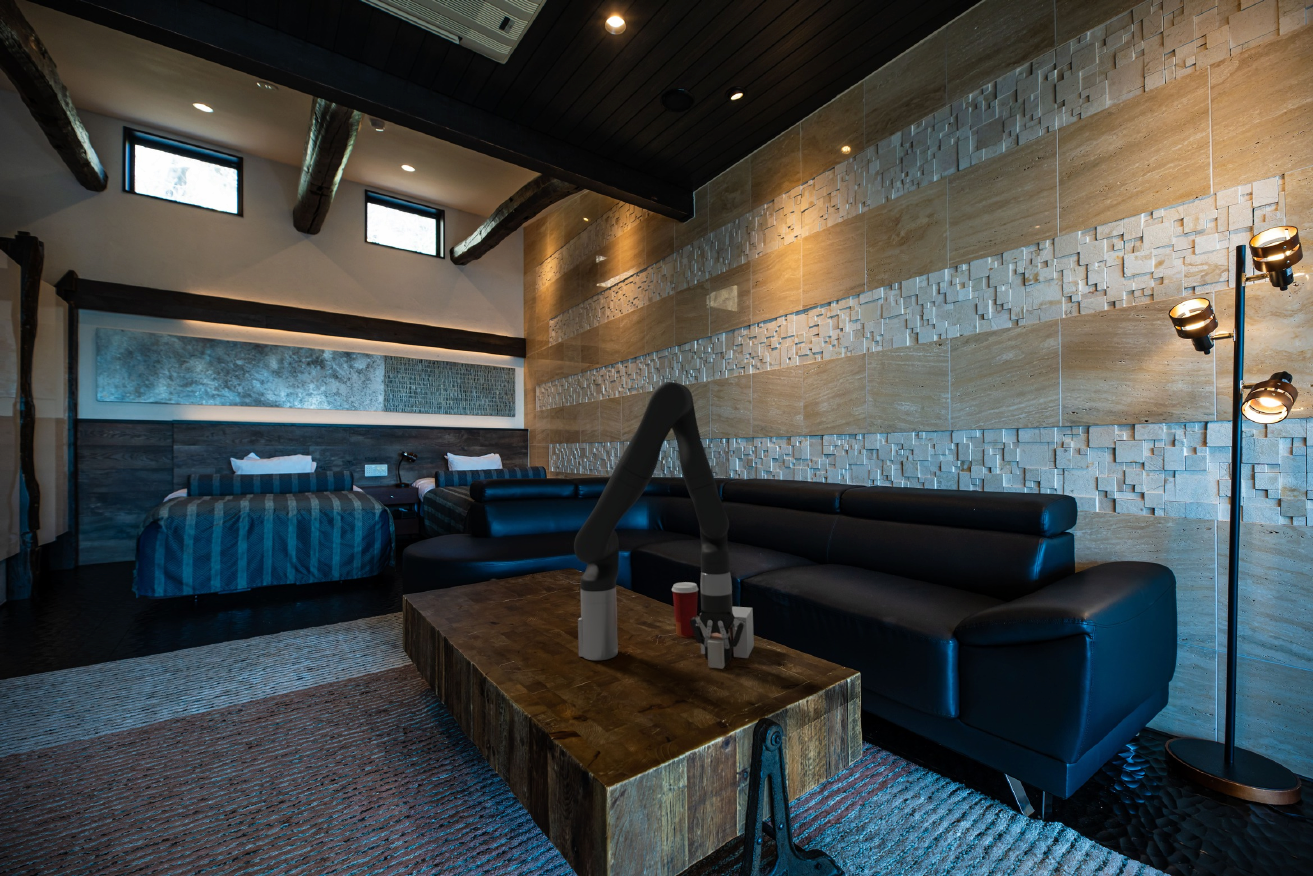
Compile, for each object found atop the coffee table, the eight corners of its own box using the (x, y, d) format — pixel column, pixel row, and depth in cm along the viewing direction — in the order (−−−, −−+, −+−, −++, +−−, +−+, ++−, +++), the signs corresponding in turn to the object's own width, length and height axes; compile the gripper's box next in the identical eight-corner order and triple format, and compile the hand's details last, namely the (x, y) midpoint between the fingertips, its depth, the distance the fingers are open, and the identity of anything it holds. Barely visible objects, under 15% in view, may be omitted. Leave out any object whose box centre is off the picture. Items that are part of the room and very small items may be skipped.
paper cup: (704, 632, 155) (703, 583, 156) (691, 640, 149) (690, 589, 149) (681, 628, 160) (679, 580, 160) (667, 636, 153) (666, 586, 154)
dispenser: (700, 654, 138) (699, 614, 139) (709, 642, 147) (708, 604, 148) (747, 659, 134) (745, 618, 135) (753, 646, 143) (752, 607, 144)
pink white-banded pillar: (708, 667, 129) (707, 641, 129) (723, 644, 144) (722, 621, 145) (722, 668, 128) (721, 643, 128) (736, 645, 143) (735, 622, 143)
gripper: (683, 592, 131) (686, 664, 130) (742, 596, 126) (744, 671, 125) (692, 585, 138) (694, 654, 137) (747, 588, 133) (750, 659, 132)
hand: (718, 661), depth 131 cm, fingers closed on pink white-banded pillar, 3 cm apart
